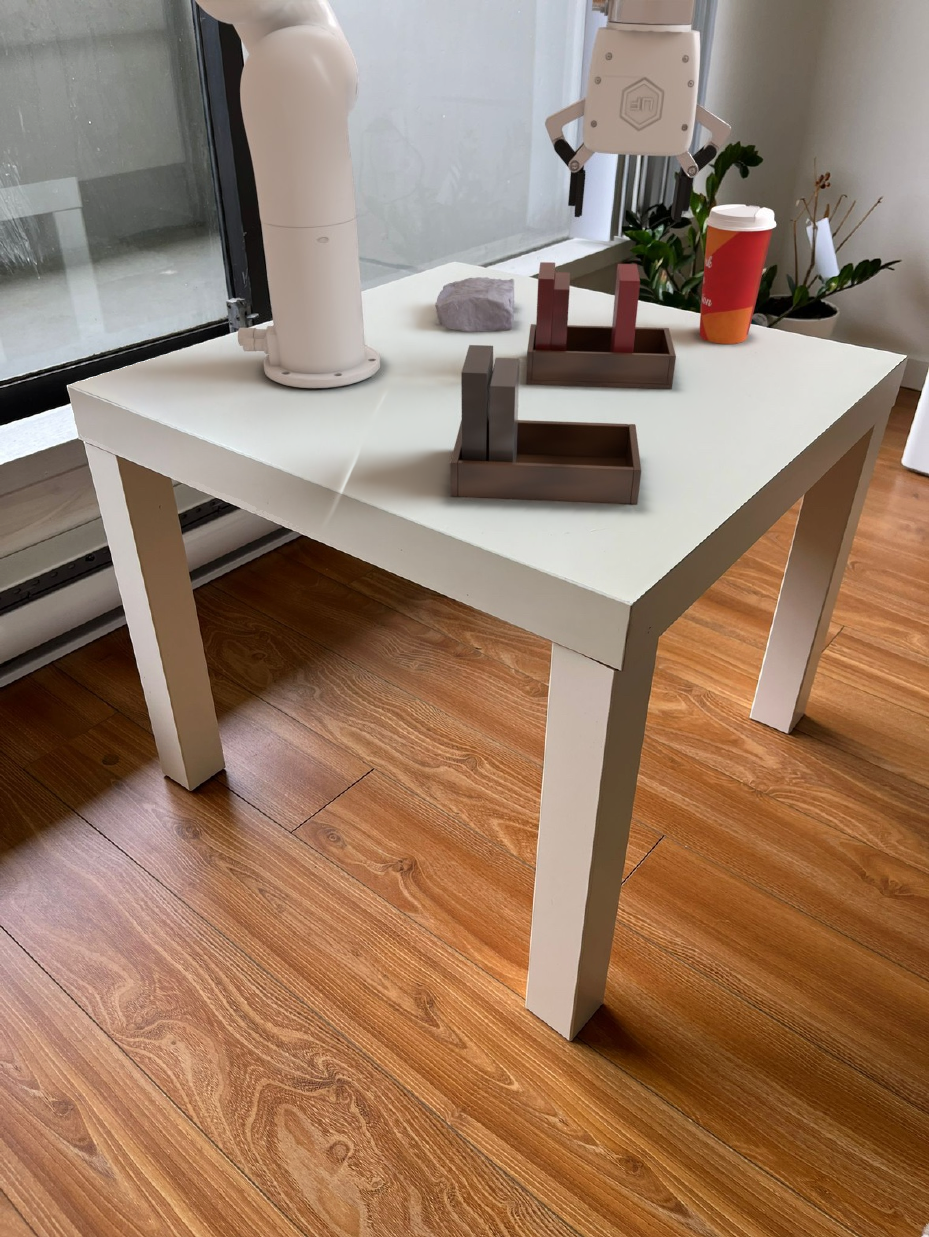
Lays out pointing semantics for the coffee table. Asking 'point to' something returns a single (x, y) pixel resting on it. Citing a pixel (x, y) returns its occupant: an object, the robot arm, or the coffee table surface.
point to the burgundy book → (625, 308)
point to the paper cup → (733, 270)
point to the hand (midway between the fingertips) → (626, 216)
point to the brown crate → (534, 446)
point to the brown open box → (590, 346)
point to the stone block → (477, 305)
